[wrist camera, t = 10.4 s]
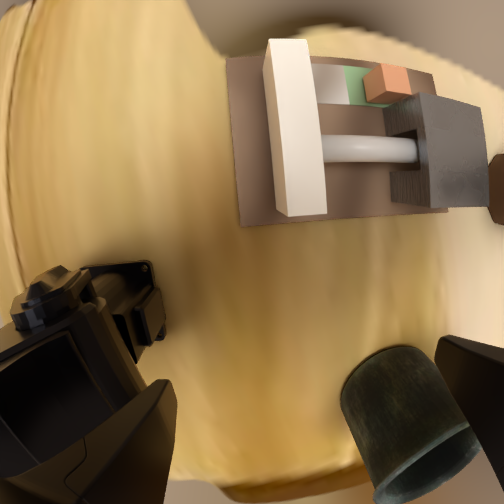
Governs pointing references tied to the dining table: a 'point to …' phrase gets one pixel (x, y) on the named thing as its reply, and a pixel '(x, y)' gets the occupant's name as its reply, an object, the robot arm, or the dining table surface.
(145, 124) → the dining table surface
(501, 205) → the beer bottle
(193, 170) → the dining table surface
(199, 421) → the dining table surface
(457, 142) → the notched steel block
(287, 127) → the plunger
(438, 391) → the mug
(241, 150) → the base
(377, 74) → the peach cube
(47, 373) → the robot arm
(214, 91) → the dining table surface
